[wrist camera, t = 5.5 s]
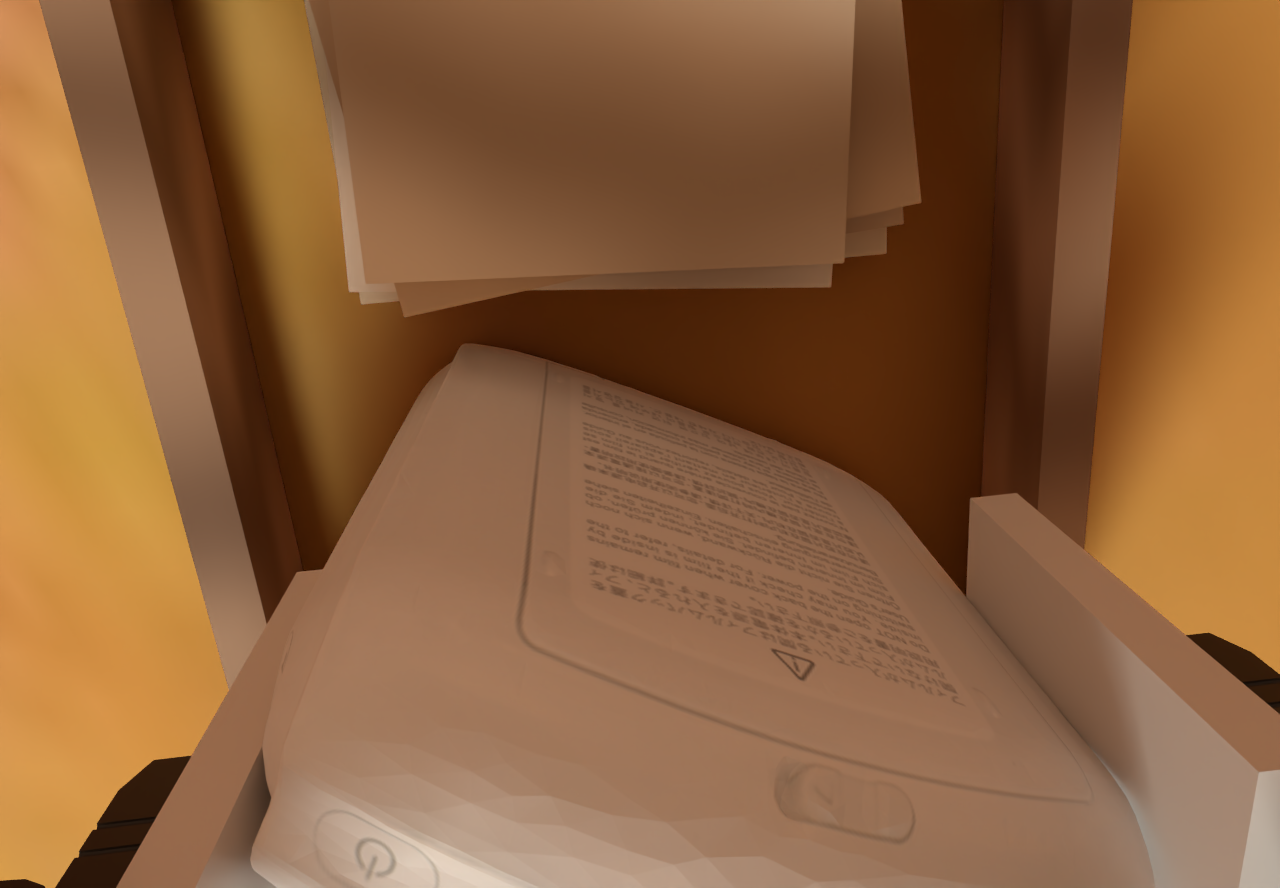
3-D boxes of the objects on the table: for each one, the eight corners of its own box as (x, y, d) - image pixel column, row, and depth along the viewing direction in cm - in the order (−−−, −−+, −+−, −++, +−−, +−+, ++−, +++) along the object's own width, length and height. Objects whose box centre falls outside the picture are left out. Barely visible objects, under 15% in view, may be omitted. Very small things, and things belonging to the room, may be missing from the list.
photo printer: (377, 498, 19) (110, 1069, 8) (440, 306, 18) (233, 650, 7) (816, 636, 21) (1118, 1254, 10) (899, 472, 20) (1356, 959, 9)
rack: (89, -86, 16) (-1601, -784, 3) (1066, -161, 16) (2534, -947, 4) (316, 814, 22) (10, 1688, 10) (1010, 730, 23) (1525, 1444, 11)
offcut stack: (300, -69, 16) (233, -116, 13) (880, -115, 16) (960, -171, 13) (370, 310, 18) (328, 354, 15) (879, 261, 19) (947, 293, 15)
